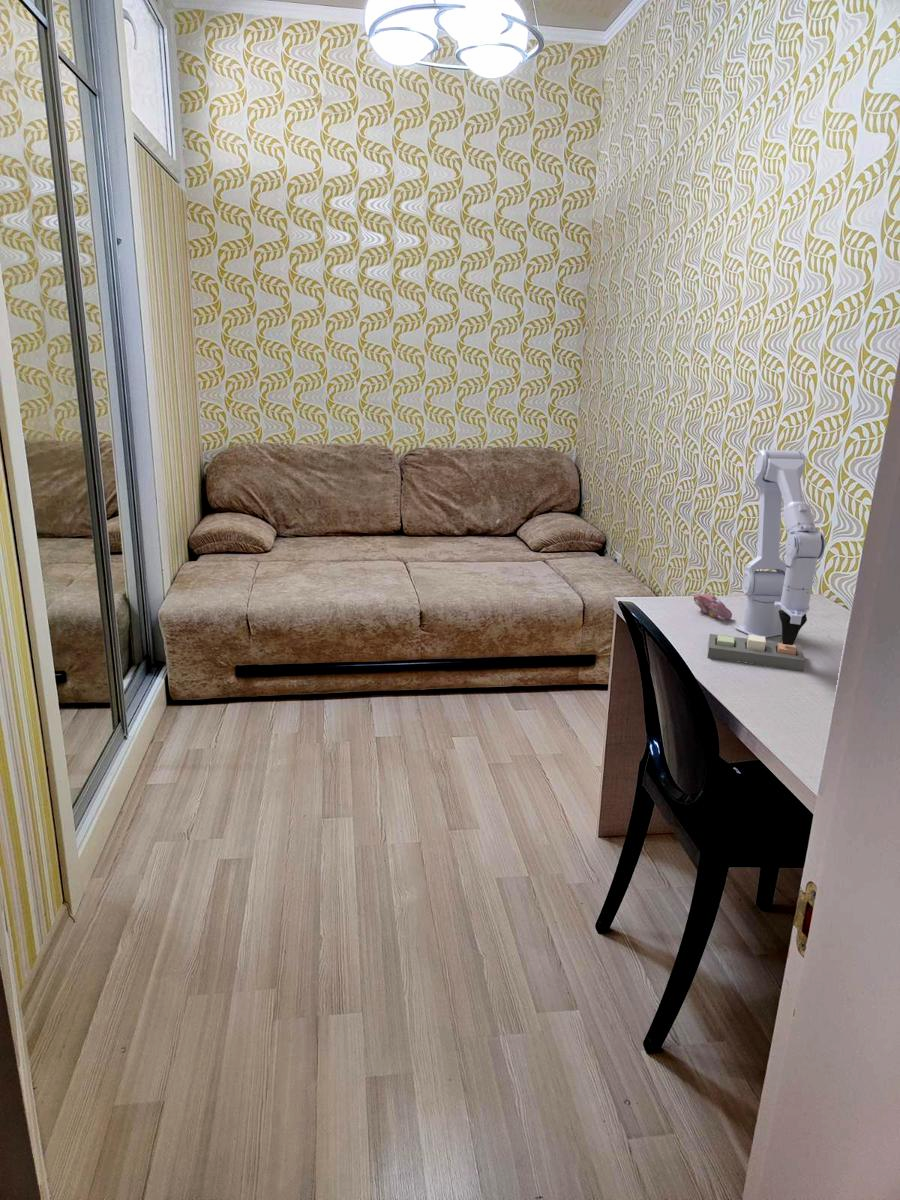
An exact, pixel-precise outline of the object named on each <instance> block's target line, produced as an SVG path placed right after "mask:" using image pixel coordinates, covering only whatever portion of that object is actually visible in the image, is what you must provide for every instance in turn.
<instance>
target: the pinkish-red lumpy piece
mask: <svg viewBox="0 0 900 1200" xmlns="http://www.w3.org/2000/svg"><path fill="white" fill-rule="evenodd" d="M693 601H694V603H695V605H696V606H698V607H699V609H700V610H701V611H702V613H703V614H706V615H707V614H709V615H710V617H712V618H713V619H714V618H716V617H720V618H722V619H724V620H727V621H728V619H729V620H731V619H732V617H733V613H732V611H731V610H730V609H729V608H728V607H727V606H726V605H725V604H724V603H723V602H722V601H721V600H720V599H718V598H717V597H716V596H715V595H713V594H712V593H711V594H710V593H704V592H703V591H702V592H701V593H698V594H696V595H695V596H693Z"/></svg>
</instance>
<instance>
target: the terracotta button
mask: <svg viewBox="0 0 900 1200" xmlns="http://www.w3.org/2000/svg"><path fill="white" fill-rule="evenodd" d="M777 643H778V647H777V652H776V653H782V654H789V655H796V646H795V645H796V644H793V645H785V644H782V643H783V642H777Z"/></svg>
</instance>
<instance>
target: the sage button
mask: <svg viewBox="0 0 900 1200" xmlns="http://www.w3.org/2000/svg"><path fill="white" fill-rule="evenodd" d="M717 635H718V637H717V644H716V645H721V646H729V647H734V637H735V636H731V637H728V635H723V636H721V635H722V634H717Z"/></svg>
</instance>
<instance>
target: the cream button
mask: <svg viewBox="0 0 900 1200" xmlns="http://www.w3.org/2000/svg"><path fill="white" fill-rule="evenodd" d="M747 639H748V640H747V646H746V648H747V649H752V650H759V651H764V650H765V644H766V641H767V640H766V638H765V637H764V636H756V635H748V634H747Z"/></svg>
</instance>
